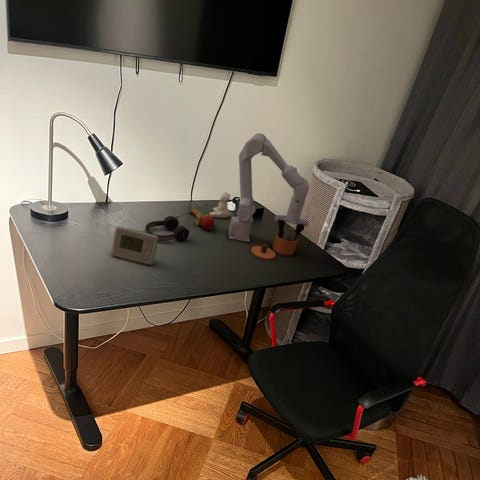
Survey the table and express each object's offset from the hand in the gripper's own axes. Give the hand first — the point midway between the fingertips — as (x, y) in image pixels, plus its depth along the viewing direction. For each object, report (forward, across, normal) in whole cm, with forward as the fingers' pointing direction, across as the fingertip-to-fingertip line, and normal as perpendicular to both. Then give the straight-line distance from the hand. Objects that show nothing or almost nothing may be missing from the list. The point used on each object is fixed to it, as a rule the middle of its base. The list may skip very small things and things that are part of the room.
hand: (286, 238), depth 207 cm
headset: (+6, -51, -4) cm, 52 cm away
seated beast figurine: (+6, -28, +26) cm, 39 cm away
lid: (+6, -10, -7) cm, 13 cm away
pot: (+6, 0, 0) cm, 6 cm away
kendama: (+6, -37, +14) cm, 40 cm away
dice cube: (+2, 0, 0) cm, 2 cm away
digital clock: (+6, -62, -29) cm, 69 cm away
